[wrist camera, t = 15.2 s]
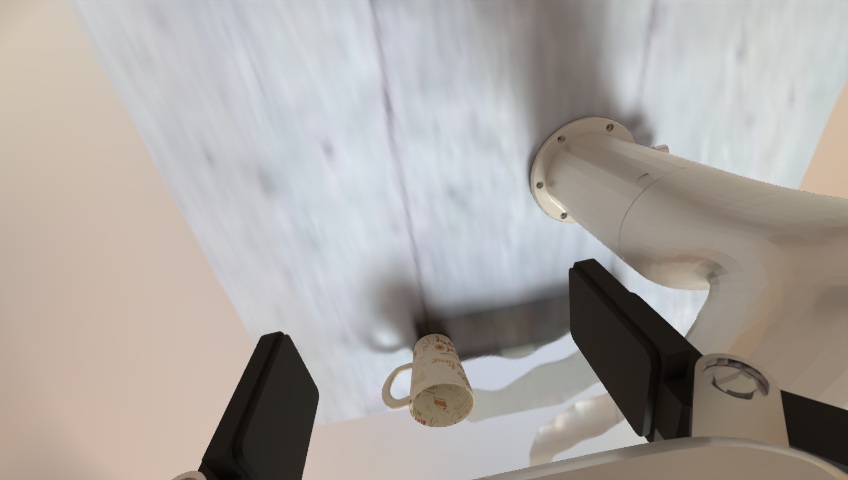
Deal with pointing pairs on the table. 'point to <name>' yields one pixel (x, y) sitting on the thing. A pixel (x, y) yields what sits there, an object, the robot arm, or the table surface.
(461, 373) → the mug
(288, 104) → the table surface
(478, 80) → the table surface
